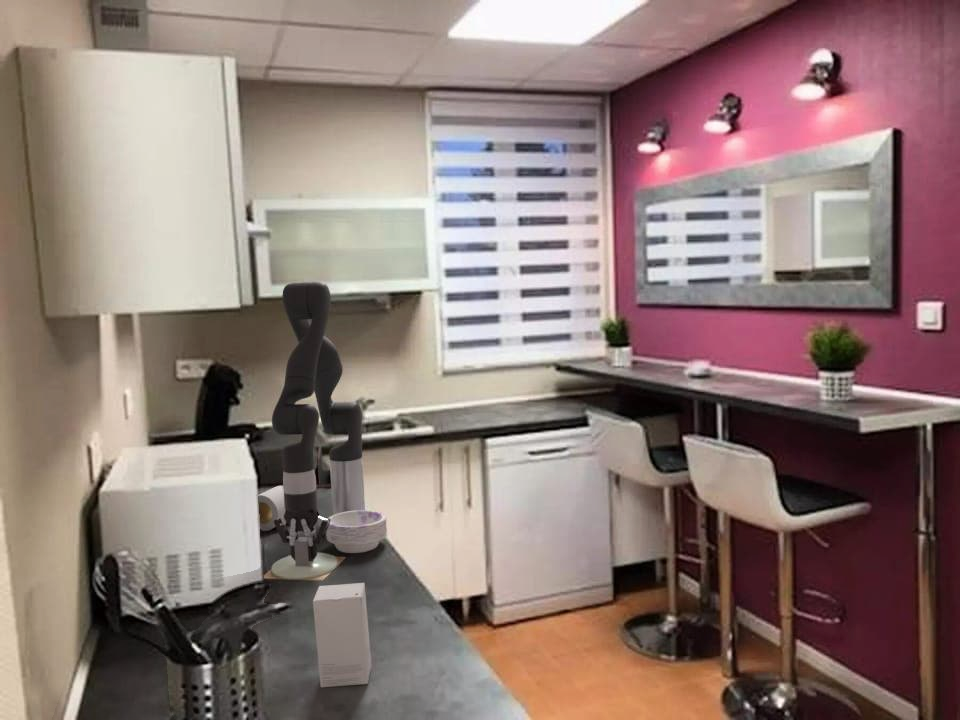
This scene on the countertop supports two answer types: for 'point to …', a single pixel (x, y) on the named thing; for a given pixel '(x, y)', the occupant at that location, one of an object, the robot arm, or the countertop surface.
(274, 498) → the toilet paper
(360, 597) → the skincare box
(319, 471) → the letter holder
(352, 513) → the paper bowls
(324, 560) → the lid
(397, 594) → the countertop surface
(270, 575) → the mat
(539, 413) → the countertop surface
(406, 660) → the countertop surface
